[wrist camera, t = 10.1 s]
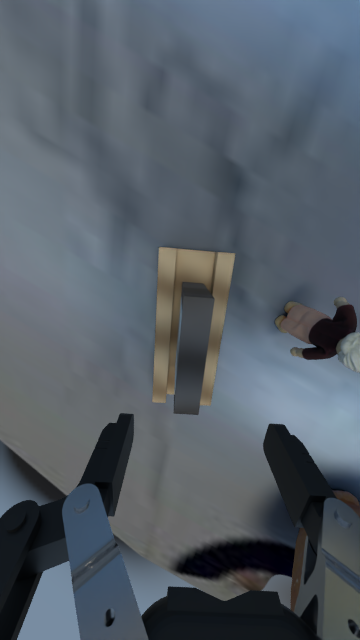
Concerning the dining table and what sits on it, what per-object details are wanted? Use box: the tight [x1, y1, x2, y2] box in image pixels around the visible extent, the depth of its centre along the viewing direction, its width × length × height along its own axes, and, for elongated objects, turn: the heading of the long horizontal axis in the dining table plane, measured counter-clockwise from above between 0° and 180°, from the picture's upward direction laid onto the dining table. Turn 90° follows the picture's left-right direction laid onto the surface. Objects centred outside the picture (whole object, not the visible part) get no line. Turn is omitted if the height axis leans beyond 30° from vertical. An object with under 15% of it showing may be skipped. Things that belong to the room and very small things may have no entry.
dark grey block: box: [174, 282, 215, 415], centre depth 22 cm, size 12×3×8 cm, turn 175°
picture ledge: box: [152, 247, 235, 406], centre depth 26 cm, size 20×8×4 cm, turn 175°
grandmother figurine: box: [275, 297, 360, 373], centre depth 21 cm, size 8×4×13 cm, turn 162°
